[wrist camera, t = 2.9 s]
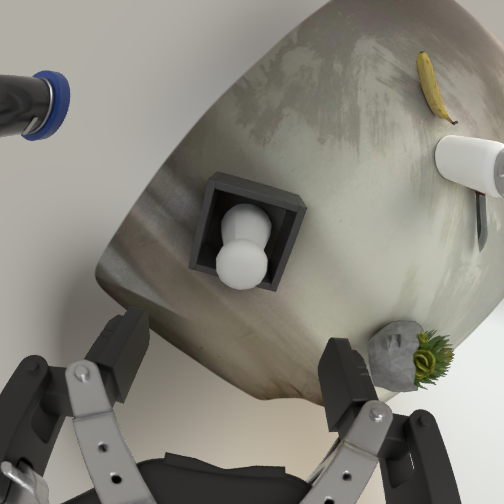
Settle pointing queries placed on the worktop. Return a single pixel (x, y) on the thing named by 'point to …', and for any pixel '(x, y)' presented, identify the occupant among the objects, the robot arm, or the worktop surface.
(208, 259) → the holder
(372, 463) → the robot arm
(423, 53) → the banana
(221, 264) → the salt shaker
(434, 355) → the potted plant
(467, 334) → the worktop surface
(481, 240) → the knife
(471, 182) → the can
